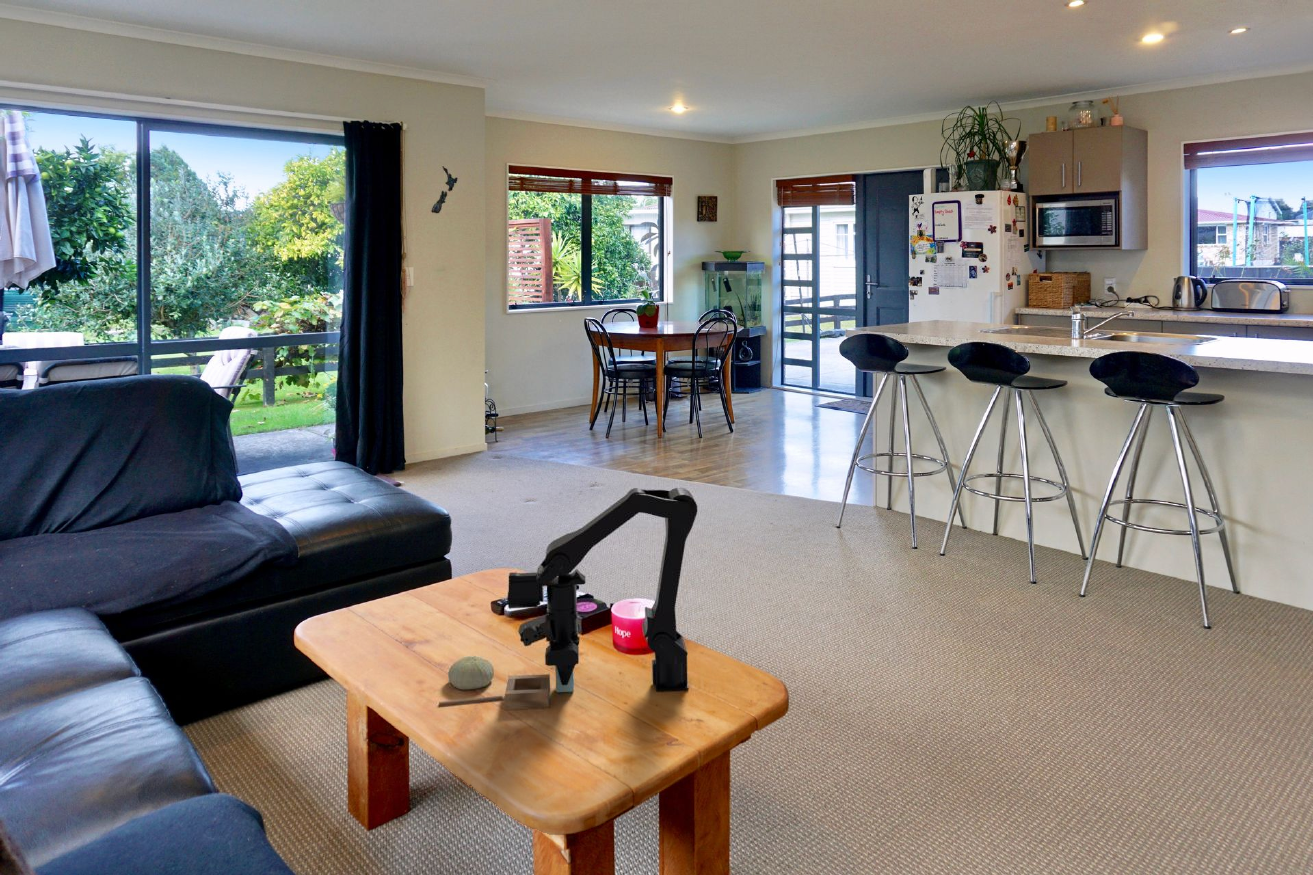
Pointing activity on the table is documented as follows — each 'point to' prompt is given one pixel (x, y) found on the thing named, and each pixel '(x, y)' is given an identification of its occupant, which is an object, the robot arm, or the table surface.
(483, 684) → the sea urchin shell
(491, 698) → the brown wooden rod
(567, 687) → the teal rectangular block
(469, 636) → the table surface
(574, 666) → the robot arm
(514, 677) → the wooden socket block
